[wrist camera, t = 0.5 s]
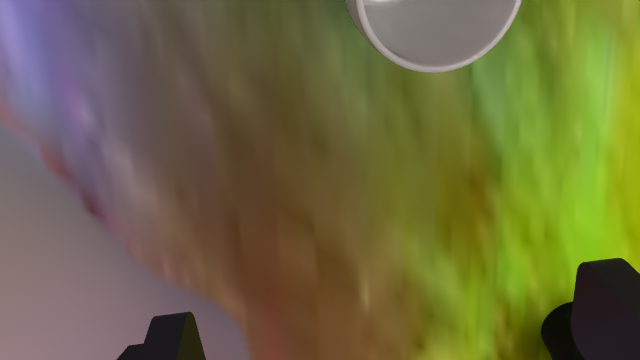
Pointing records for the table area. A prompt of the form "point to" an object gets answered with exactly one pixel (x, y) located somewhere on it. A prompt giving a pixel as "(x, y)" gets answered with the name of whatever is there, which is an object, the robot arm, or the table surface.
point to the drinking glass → (433, 30)
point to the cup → (560, 334)
